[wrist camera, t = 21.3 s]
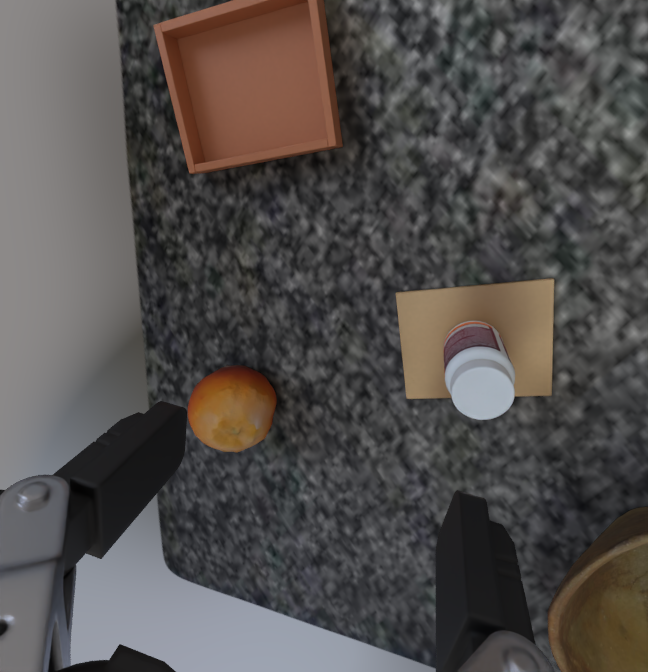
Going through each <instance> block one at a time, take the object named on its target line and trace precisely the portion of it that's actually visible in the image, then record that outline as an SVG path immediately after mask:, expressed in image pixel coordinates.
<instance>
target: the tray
mask: <svg viewBox="0 0 648 672" xmlns="http://www.w3.org/2000/svg"><path fill="white" fill-rule="evenodd" d="M154 30H155V34H156V38H157V42H158V46H159V51H160V55H161V59H162V63H163V67H164V71H165V75H166V79H167V83H168V87H169V92H170V96H171V100H172V104H173V108H174V112H175V116H176V120H177V124H178V128H179V133H180V137H181V141H182V145H183V149H184V153H185V157H186V161H187V165H188V169H189V173H190V174H194V173H208V172H213V171H218V170H224V169H229V168H234V167H240V166H245V165H250V164H256V163H261V162H266V161H271V160H277V159H282V158H287V157H293V156H298V155H303V154H309V153H314V152H319V151H324V150H330V149H335V148H340V147H343V144H342V136H341V129H340V121H339V113H338V106H337V98H336V90H335V83H334V75H333V67H332V60H331V52H330V44H329V37H328V29H327V21H326V14H325V6H324V0H233V1H230V2H227V3H223V4H220V5H217V6H214V7H210V8H207V9H204V10H201V11H197V12H194V13H191V14H188V15H184V16H181V17H178V18H175V19H171V20H168V21H165V22H162V23H159V24H156V25H154Z"/></svg>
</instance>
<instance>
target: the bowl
mask: <svg viewBox="0 0 648 672" xmlns="http://www.w3.org/2000/svg"><path fill="white" fill-rule="evenodd" d="M548 635H549V643H550V647H551V650H552V654H553V657H554V658H555V660H556V662H557V665H558V667H559V668H560V670H561V672H648V507H639V508H635V509H632V510H630V511H628V512H627V513H625V514H623V515H622V516H620V517H619V518H617V519H616V520H615V521H614V522H613V523H612V524H611V525H610V526H609V527H608V528H607V529H606V530H605V531H604V532H603V533H602V534H601V535H600V536H599V537H598V538H597V539H596V540H595V541H594V542H593V543H592V545H591V546H590V547H589V548H588V549H587V550H586V551H585V552H584V553H583V554H582V555H581V556H580V557H579V558H578V560H577V561H576V562H575V563H574V564H573V565H572V567H571V568H570V570H569V571H568V573H567V574H566V576H565V578H564V579H563V581H562V582H561V584H560V586H559V587H558V589H557V591H556V593H555V595H554V597H553V600H552V602H551V604H550V606H549V610H548Z"/></svg>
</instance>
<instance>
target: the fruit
mask: <svg viewBox="0 0 648 672" xmlns="http://www.w3.org/2000/svg"><path fill="white" fill-rule="evenodd" d="M276 402H277V398H276V394H275V391H274V389H273V387H272V386H271V385H270V383H269V382H268V380H267V378H266V377H265V376H264V375H262V374H261V373H259V372H257V371H255V370H253V369H251V368H249V367H246V366H241V365H232V366H228V365H226V366H224V367H222V368H220V369H219V370H217V371H215V372H213V373H212V374H210V375H208V376H207V377H205V378H203V379H202V380H201V381H200V382H199V383H198V384H197V385H196V387H195V388H194V390H193V392H192V395H191V398H190V401H189V405H188V418H189V423H190V425H191V427H192V429H193V431H194V433H195V435H196V436H197V437H198V438H199V439H200V440H201V441H202V442H203V443H204V444H207V445H208V446H210V447H212V448H214V449H219V450H222V451H224V452H230V451H233V452H239V451H242V450H244V449H246V448H249V447H252V446H253V445H255V444H257V443H259V442H260V441H262V440H263V439H264V438H265V437H266V435H267V433H268V431H269V429H270V427H271V425H272V420H273V415H274V411H275V407H276Z"/></svg>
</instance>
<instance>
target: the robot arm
mask: <svg viewBox="0 0 648 672" xmlns="http://www.w3.org/2000/svg"><path fill="white" fill-rule="evenodd" d="M186 422H187V411H186V409H185V408H183V407H180V406H176V405H173V404H170V403H166V402H163V401H160V402H158V403H157V404H155V405H154V406H153V407H152V408H151V409H150V410H148V411H147V412H146V413H145V414H142V413H139V412H138V413H136V414H133V415H131V416H129V417H126V418H124V419H121V420H120V421H119V422H117V423H116V424H115V425H114V426H112V427H111V428H110V429H109V430H108V431H107V433H104V434H103V435H101V436H100V437H99V438H98V439H97V440H96V442H93V443H91V444H90V445H89V446H88V447H87V448H85V449H84V450H83V451H82V452H80V453H79V454H78V455H77V456H75V457H74V458H73V459H72V460H70V461H69V462H68V463H67V464H66V465H64V466H63V467H62V468H61V469H59V470H58V471H57V472H56V473H54V474H53V475H38V476H32V477H29V478H26V479H23V480H21V481H19V482H16V483H15V484H13V485H11V486H10V487H9V488H7V489H6V490H0V672H175V671H174V670H173V669H172V668H171V667H170V666H169V665H167V664H166V663H165V662H163V661H161V660H158V659H156V658H153V657H151V656H148V655H146V654H143V653H141V652H138V651H136V650H133V649H131V648H128V647H126V646H123V645H119V646H118V648H117V649H116V651H115V652H114V654H113V655H112V657H111V658H110V660H99V661H89V662H85V663H79V664H75V665H72V666H71V665H70V664H71V663H70V644H71V643H70V642H71V629H72V617H73V604H74V593H75V581H76V563H77V562H78V561H79V560H80V559H81V558H82V557H83V556H84V555H85V553H86V554H89V555H92V556H95V557H97V558H100V559H102V557H103V556H104V555H105V554H106V553H107V552H108V550H109V549H110V548H111V547H112V545H113V544H114V543H115V542H116V541H117V540H118V538H119V537H120V536H121V535H122V534H123V533H124V531H125V530H126V529H127V528H128V527H129V526H130V524H131V523H132V522H133V521H134V520H135V518H136V517H137V516H138V515H139V514H140V513H141V511H142V510H143V509H144V508H145V507H146V505H147V504H148V503H149V502H150V501H151V499H152V498H153V497H154V496H155V495H156V494H157V493H158V491H159V490H160V489H161V488H162V487H163V485H164V484H165V483H166V482H167V481H168V480H169V478H170V477H171V476H172V475H173V474H174V472H175V471H176V470H177V469H178V467H179V465H180V464H181V461H182V459H183V456H184V452H185V441H186ZM517 563H518V560H517V555H516V550H515V545H514V542H513V541H512V539H511V538H510V536H509V534H508V533H507V531H506V530H505V528H504V526H503V525H502V524H499V523H495V522H492V521H489V514H488V508H487V502H486V500H485V499H484V498H481V497H478V496H475V495H471V494H468V493H464V492H461V491H458V490H457V491H456V492H455V494H454V496H453V498H452V501H451V503H450V506H449V509H448V511H447V514H446V516H445V519H444V522H443V524H442V527H441V529H440V532H439V536H438V540H437V546H436V672H555V671H554V669H553V667H552V665H551V663H550V662H549V660H548V659H547V657H546V656H545V655H544V654H543V652H542V651H541V650H540V649H539V648H538V647H537V646H536V644H535V641H534V636H533V631H532V626H531V622H530V617H529V612H528V607H527V603H526V598H525V593H524V588H523V584H522V581H521V574H520V569H519V565H517Z"/></svg>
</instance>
